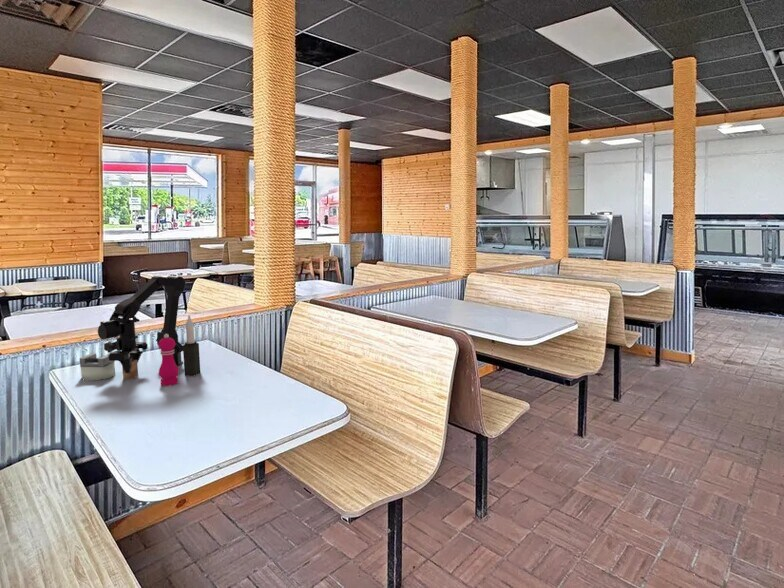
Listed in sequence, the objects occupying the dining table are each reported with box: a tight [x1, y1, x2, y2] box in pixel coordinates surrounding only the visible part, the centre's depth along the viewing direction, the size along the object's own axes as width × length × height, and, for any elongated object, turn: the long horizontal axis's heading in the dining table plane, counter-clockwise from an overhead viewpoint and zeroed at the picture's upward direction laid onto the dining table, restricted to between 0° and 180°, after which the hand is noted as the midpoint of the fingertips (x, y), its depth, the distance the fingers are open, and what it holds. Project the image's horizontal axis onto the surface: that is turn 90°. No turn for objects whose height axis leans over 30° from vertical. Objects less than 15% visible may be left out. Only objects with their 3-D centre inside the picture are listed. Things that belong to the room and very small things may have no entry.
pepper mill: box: [157, 334, 180, 387], centre depth 197 cm, size 7×7×20 cm
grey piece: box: [80, 361, 116, 381], centre depth 206 cm, size 12×12×5 cm
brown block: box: [121, 360, 139, 380], centre depth 204 cm, size 4×4×7 cm
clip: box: [79, 352, 116, 368], centre depth 205 cm, size 10×8×4 cm
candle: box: [182, 315, 201, 377], centre depth 208 cm, size 5×5×25 cm
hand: (130, 371), depth 205 cm, fingers closed on brown block, 4 cm apart
